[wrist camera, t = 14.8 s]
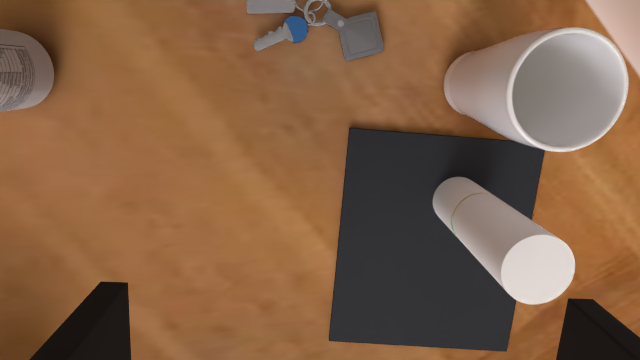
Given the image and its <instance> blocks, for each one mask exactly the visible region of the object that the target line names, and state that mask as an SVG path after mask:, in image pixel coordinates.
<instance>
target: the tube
mask: <svg viewBox="0 0 640 360" xmlns="http://www.w3.org/2000/svg"><path fill="white" fill-rule="evenodd" d="M433 208H434V210H435V213H436V214H437V215H438V217H439V218H440V219H441V220H442V221H443V222H444V223H445V224H446V226H447V227H448V228H449V229H450V230H451V231H452V232H453V233H454V234H455V235H456V237H457V238H458V239H459V240H460V241H461V242H462V243H463V244H464V245H465V246H466V248H467V249H468V250H469V251H470V252H471V253H472V254H473V255H474V256H475V258H476V259H477V260H478V261H479V262H480V263H481V264H482V265H483V266H484V267H485V269H486V270H487V271H488V272H489V273H490V274H491V275H492V276H493V277H494V278H495V280H496V281H497V282H498V283H499V284H500V285H501V286H502V287H503V288H504V289H505V291H506V292H507V293H508V294H509V295H510V296H511V297H513V298H514V299H515V300H517V301H519V302H522V303H525V304H542V303H546V302H549V301H551V300H553V299H555V298H556V297H558V296H559V295H561V294H562V293H563V292H564V291H565V290H566V289H567V287H568V286H569V284H570V283H571V281H572V278H573V276H574V272H575V260H574V256H573V253H572V251H571V249H570V248H569V247H568V245H567V244H566V243H564V242H563V241H562V240H561V239H559V238H558V237H556V236H555V235H553V234H552V233H550V232H548V231H547V230H545V229H544V228H542V227H541V226H539V225H538V224H536V223H535V222H533V221H532V220H530V219H529V218H527V217H526V216H524V215H523V214H521V213H520V212H518V211H517V210H515V209H514V208H512V207H511V206H509V205H508V204H506V203H505V202H503V201H502V200H500V199H499V198H497V197H496V196H494V195H493V194H491V193H490V192H488V191H487V190H485V189H484V188H482V187H481V186H479V185H478V184H476V183H475V182H473V181H472V180H470V179H468V178H465V177H453V178H449V179H447V180H445V181H444V182H443V183H441V184H440V185H439V186H438V188H437V189H436V191H435V193H434V196H433Z"/></svg>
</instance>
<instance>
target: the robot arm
mask: <svg viewBox="0 0 640 360" xmlns="http://www.w3.org/2000/svg"><path fill="white" fill-rule="evenodd" d="M30 360H131V347H130V323H129V299H128V283H122V282H100V283H99V284H98V285H97V286H96V288H95V289H94V290H93V291H92V292H91V293H90V294H89V295H88V296H87V297H86V298H85V300H84V301H83V302H82V303H81V304H80V305H79V306H78V307H77V308H76V309H75V310H74V312H73V313H72V314H71V315H70V316H69V317H68V318H67V319H66V320H65V321H64V323H63V324H62V325H61V326H60V327H59V328H58V329H57V330H56V331H55V332H54V333H53V335H52V336H51V337H50V338H49V339H48V340H47V341H46V342H45V343H44V344H43V345H42V347H41V348H40V349H39V350H38V351H37V352H36V353H35V354H34V355H33V356H32V357H31V359H30ZM556 360H640V338H639V337H638V336H637V335H636V334H634V333H633V332H632V331H631V330H630V329H628V328H627V327H626V326H625V325H623V324H622V323H621V322H620V321H619V320H617V319H616V318H615V317H614V316H612V315H611V314H610V313H609V312H608V311H606V310H605V309H604V308H603V307H601V306H600V305H599V304H598V303H597V302H595V301H594V300H593V299H568V303H567V308H566V313H565V318H564V323H563V328H562V333H561V338H560V343H559V348H558V353H557V358H556Z"/></svg>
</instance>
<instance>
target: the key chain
mask: <svg viewBox="0 0 640 360" xmlns="http://www.w3.org/2000/svg"><path fill="white" fill-rule="evenodd" d="M314 1H322V3H321V5H320V6H319V7H318V8H316V9H314V10H312V11H308V7H309V5H310V4H311V3H312V2H314ZM324 3H325V4H326V6H327V8H328V10H327V12H326V13H325V15H324V17H323V19H322V21H321V22H315V19H316V17H315V14H314V13H312V12H314V11H316V10H319V9H320V8H321V6H322V5H323V4H324ZM295 5H296V7H297V8H298V9H299V10H301V11H303V12H304V19H303V18H301V17H298V16H291V17H288V18H287V19H286V20H285V21H284V25H283V27H282V28H281V26H280V27H278V29H277V30H276V31H277V32H275V33H274V31H272V32H270V31H269V32H268V34H269V35H268V36H266V34H265V35H263V37H264V38H262V39H259V40H258V38H256V39H255V40H256V41H255V42H253V43H254V48H255V49H256V50H257V51H260V50H262V49H264V48H266V47H269V46H271V45H273V44H275V43H278V42H280V41H282V40H284V39H287V40H290V41H292V42H293V43H297V42H301V41H302V40H303V39H304V38H305V37H306V35H307V32H308V28H307V26H311V25H314V26H322V25H324V24H328V25H329V26H331V27H333V28H334V29H336V30H337V31H338V32H339V36H340V40H341V44H342V49H343V53H344V57H345V59H346V60H347V61H350V60H354V59H358V58H362V57H366V56H369V55H373V54H377V53H381V52H382V51H383V49H384V47H383V42H382V38H381V33H380V28H379V24H378V19H377V14H376V13H375V12H369V13H365V14H361V15H357V16H353V17H350V18H346V19H345V18H344V17H342V16H340V15H339V14H337V13H336V12H334V11H333V10H332V8H331V4H330V3H329V2H328V0H308V1H307V2H306V4H305V6H304V10H303V9H302V8H300V7H299V6H298V5H297V4H296V2H295V0H293V3H292V0H247V14H266V13H292V12H293V11H294V10H295ZM308 14H312V15H313V17H314V20H311V18H310V17H309V15H308ZM305 19H306V20H307V21H308V22H309V23H310V24H308V23H306V21H305Z"/></svg>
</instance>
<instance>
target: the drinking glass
mask: <svg viewBox="0 0 640 360" xmlns="http://www.w3.org/2000/svg"><path fill="white" fill-rule="evenodd" d="M628 82H629V81H628V71H627V67H626V63H625V61H624V58H623V56H622V54H621V53H620V51H619V50H618V48H617V47H616V46H615V45H614V43H613V42H611V41H610V40H609V39H608V38H607V37H605V36H604V35H602V34H600V33H598V32H596V31H593V30H590V29H586V28H580V27H568V28H554V29H546V30H539V31H534V32H530V33H526V34H522V35H519V36H516V37H513V38H510V39H507V40H505V41H502V42H500V43H497V44H494V45H492V46H489V47H486V48H483V49H481V50H477V51H471V52H468V53H465V54H463V55H461V56H460V57H458V58H457V59H456V60H455V61H454V62H453V63H452V64H451V65H450V67H449V68H448V70H447V72H446V75H445V78H444V94H445V97H446V99H447V101H448V103H449V104H450V106H451V107H452V108H453V109H454V110H455V111H457V112H458V113H460V114H463V115H465V116H469V117H470V118H472V119H474V120H476V121H477V122H479V123H481V124H483V125H484V126H486V127H488V128H489V129H491V130H493V131H494V132H496V133H498V134H500V135H502V136H504V137H506V138H508V139H510V140H513V141H515V142H518V143H521V144H524V145H527V146H531V147H534V148H539V149H543V150H547V151H553V152H567V151H573V150H577V149H580V148H583V147H585V146H588V145H590V144H592V143H593V142H595V141H596V140H598V139H599V138H601V137H602V136H603V135H604V134H605V133H606V132H608V130H609V129H610V128H611V127H612V126H613V125H614V123H615V122H616V121H617V119H618V117H619V116H620V114H621V112H622V110H623V107H624V105H625V102H626V98H627V94H628Z"/></svg>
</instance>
